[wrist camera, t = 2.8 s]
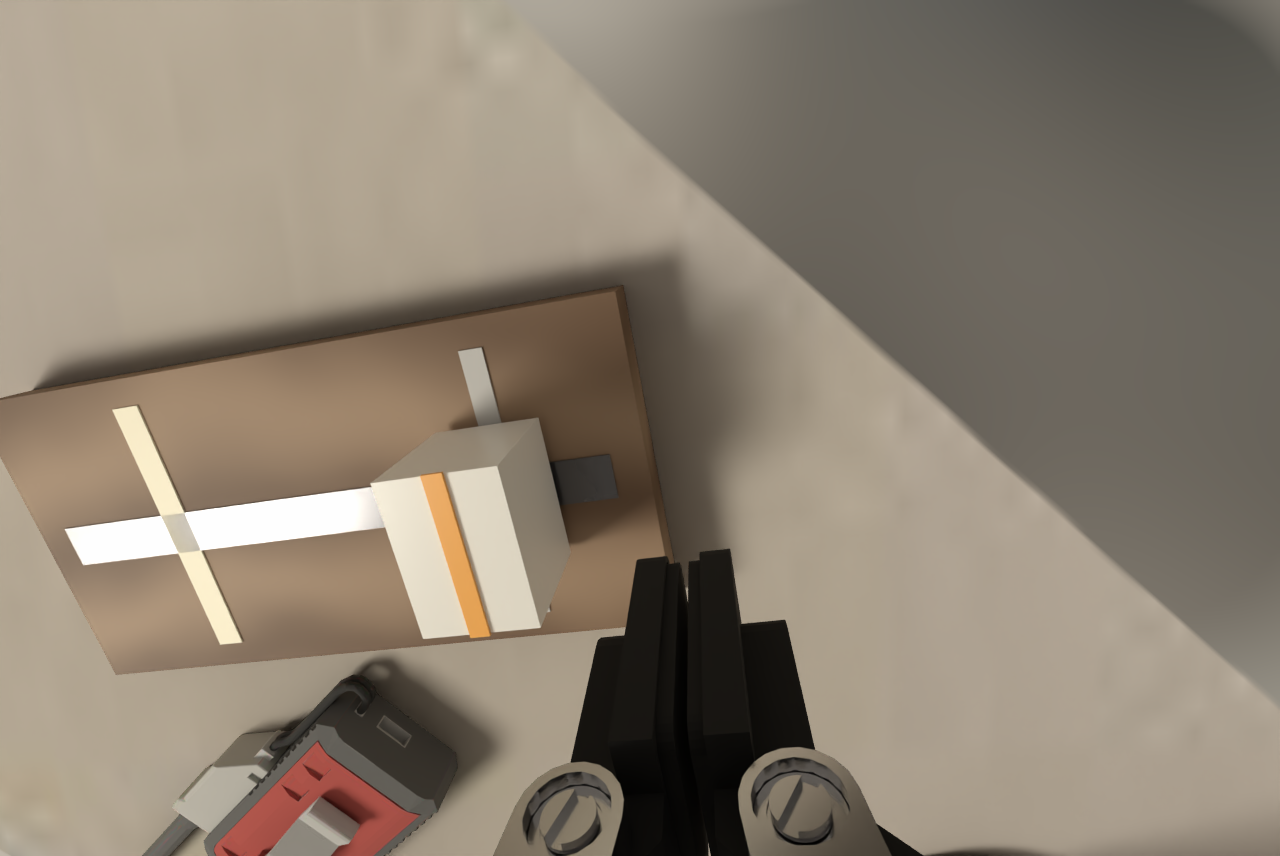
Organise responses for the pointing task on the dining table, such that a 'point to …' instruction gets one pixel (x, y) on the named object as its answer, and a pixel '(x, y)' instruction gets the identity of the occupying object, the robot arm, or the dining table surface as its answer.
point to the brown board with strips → (326, 480)
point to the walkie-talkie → (319, 784)
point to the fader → (476, 529)
